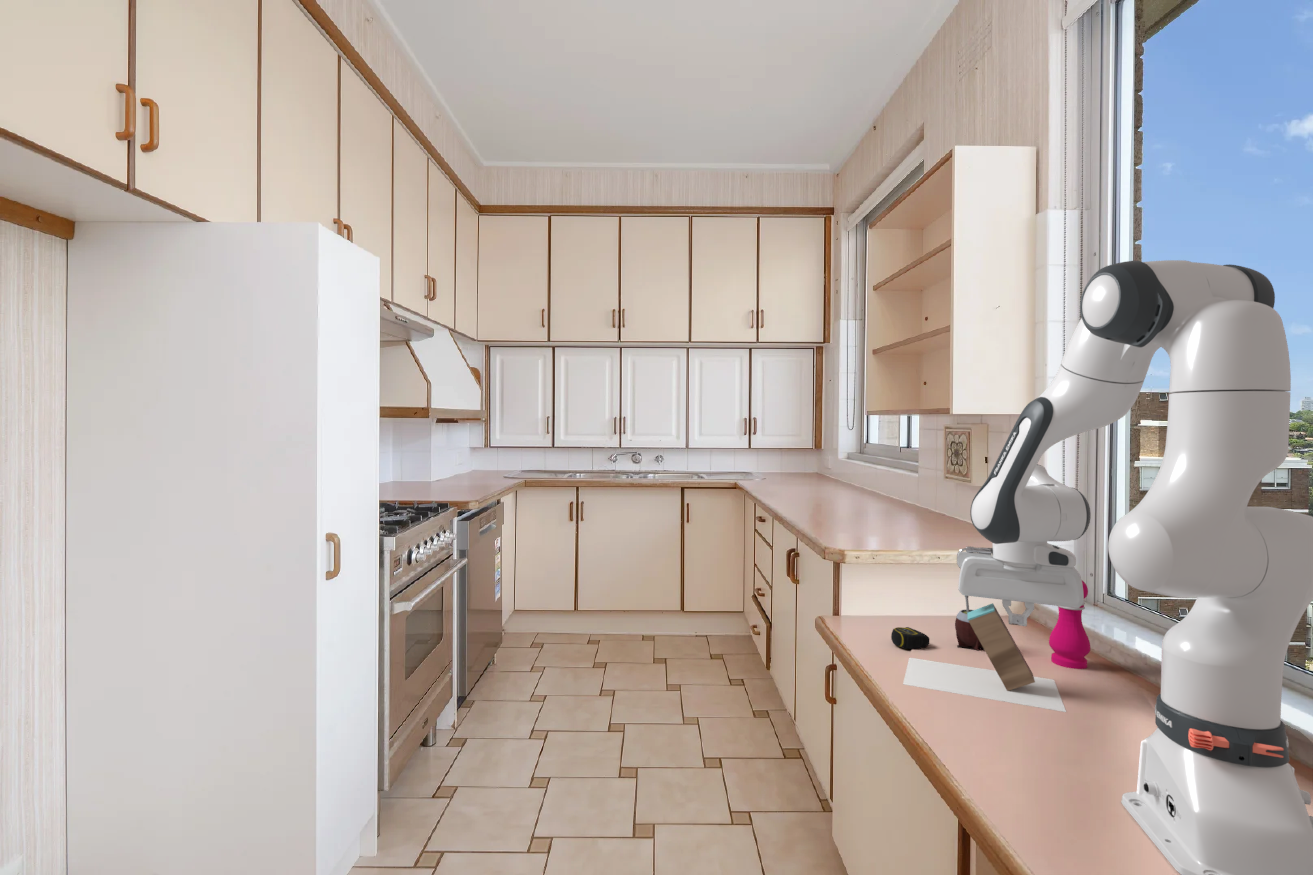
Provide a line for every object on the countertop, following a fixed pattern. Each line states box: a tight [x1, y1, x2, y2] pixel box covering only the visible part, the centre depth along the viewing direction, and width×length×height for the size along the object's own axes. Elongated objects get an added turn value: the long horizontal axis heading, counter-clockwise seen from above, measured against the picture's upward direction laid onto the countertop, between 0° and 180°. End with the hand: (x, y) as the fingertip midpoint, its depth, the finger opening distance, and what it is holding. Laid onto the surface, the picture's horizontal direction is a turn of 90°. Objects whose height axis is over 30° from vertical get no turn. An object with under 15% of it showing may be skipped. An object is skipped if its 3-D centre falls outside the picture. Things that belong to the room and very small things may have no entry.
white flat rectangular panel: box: [902, 657, 1067, 713], centre depth 122 cm, size 16×26×1 cm, turn 65°
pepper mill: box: [1048, 580, 1091, 670], centre depth 132 cm, size 7×7×20 cm
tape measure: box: [890, 626, 930, 650], centre depth 143 cm, size 7×7×4 cm
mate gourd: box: [954, 595, 985, 652], centre depth 142 cm, size 8×8×15 cm
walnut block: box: [967, 603, 1035, 691], centre depth 120 cm, size 5×5×14 cm
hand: (1017, 624), depth 119 cm, fingers closed
